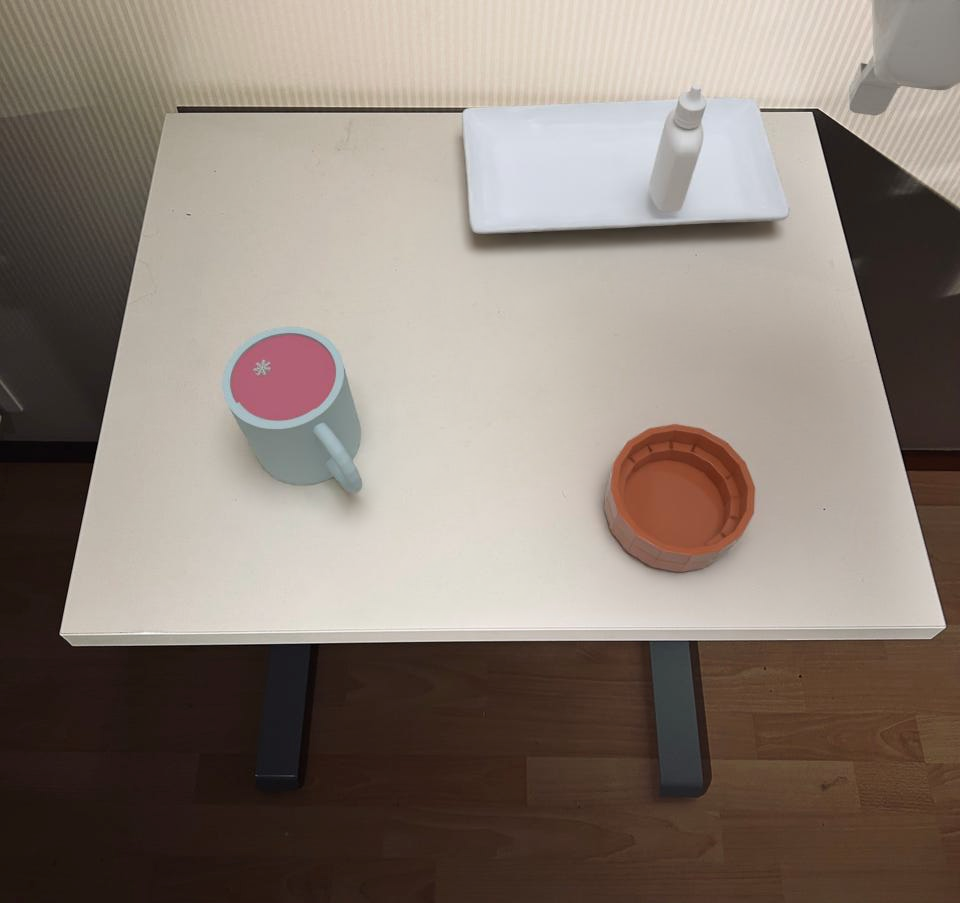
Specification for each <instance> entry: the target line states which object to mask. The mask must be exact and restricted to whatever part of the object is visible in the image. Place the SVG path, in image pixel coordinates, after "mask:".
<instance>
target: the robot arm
mask: <svg viewBox="0 0 960 903" xmlns="http://www.w3.org/2000/svg"><path fill="white" fill-rule="evenodd" d="M871 21H872V24H871V25H872V50H873V55H872V57H871V58H870V59H869V61H868V62H867V63H863V62H861V63H860V64H859V66H858V68H857V70H856V73H855V76H854V78H853V79H852V80H853V81H851V83H850V85H849V102H848V103H849V110H850V111H851V112H852V113H854V114H860V115H868V116H879V115H881V114H883V113H884V112H885V111H886V110H887V109H888V107H889V105H890V103H891V102H892V99H893V98H894V96H895V95H896V93H897V91H898V89H900V88H901V87H906V88H913V89H914V88H915V89H923V90H931V91H947V90H950V89H952V88H954V87H955V86H957V85H959V84H960V0H871Z"/></svg>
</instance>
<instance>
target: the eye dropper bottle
mask: <svg viewBox="0 0 960 903" xmlns="http://www.w3.org/2000/svg"><path fill="white" fill-rule="evenodd" d="M701 90H702V87H701V85H700V84H697V83H695V84H693V85H692V86H691V88H690V90H689V91H686V92H683V93H681V94H680V96H679V97H678V98H677V99H678V103H677V107H676V109H674V110H672V111H671V112H670V113H669V114H668V116H667V118H666V121H665V124H664V128H663V132H662V135H661V139H660V143H659V147H658V151H657V155H656V159H655V163H654V167H653V171H652V174H651V179H650V194H651V198H652V200H653V202H654V204H655V205H656V207H657V208H658V209H659V210H661V211H679V210H681V209H682V207H683V205H684V202H685V199H686V196H687V193H688V189H689V186H690V183H691V180H692V177H693V174H694V170H695V167H696V164H697V161H698V158H699V154H700V151H701V147H702V143H703V126H702V123H701V121H702V118H703V114H704V111H705V108H706V104H707V102H706V99H705V98H706V97H705V96H704V95H702V93H701Z"/></svg>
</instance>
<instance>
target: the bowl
mask: <svg viewBox="0 0 960 903" xmlns="http://www.w3.org/2000/svg"><path fill="white" fill-rule="evenodd" d="M605 486H606V487H605V494H604V500H603V509H604V512H605V517H606V520H607V523H608V526H609V530H610V532H611V533H612V534H613V536H614V537H615V538H616V539H617V541H618V542H619V543H620V544H621V546H622V547H623V549H624V550H625V551H626V552H627V553H628V554H630V555H631V556H633V557H634V558H636V559H638V560H639V561H641V562H643V563H644V564H646V565H647V566H650V567H651V568H656V569H661V570H666V571H670V572H677V573H684V572H689V571H695V570H699V569H705V568H708V567H710V566H711V565H712V564H714V563H715V562H717V561H718V560H719V559H721V558H722V557H724V556H725V555H727V554H728V553H729V552H730V550H731V549H732V548H733V546H735V545H736V543H737V542H738V540H740V538H741V537H742V536H743V534H744V532H745V530H746V528H747V527H748V525H749V523H750V521H751V520H752V518H753V516H754V514H755V502H756V501H755V500H756V498H755V497H756V486H755V483H754V480H753V478H752V476H751V473H750V470H749V467H748V465H747V463H746V461H745V460H744V459H743V458H742V456H740V454H739V453H737V451H736V450H735V449H734V448H733V447H732V446H731V445H730V443H729V442H727V441H726V440H724V439H722V438H720V437H719V436H717V435H715V434H713V433H711V432H709V431H707V430H706V429H703V428H701V427H694V426H689V425H683V424H677V423H673V424H667V425H662V426H655V427H650V428H647V429H645V430H644V431H642V432H641V433H639V434H637V435H636V436H634V437H633V438H631V439H629V440H628V441H627V442H626V443H625V445H623V448H622V449H621V450H620V452H619V454H618V455H617V457H616V458H615V460H614V461H613V464H612V467H611V469H610V473H609V475H608V478H607V481H606V485H605Z"/></svg>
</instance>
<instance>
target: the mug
mask: <svg viewBox="0 0 960 903" xmlns="http://www.w3.org/2000/svg"><path fill="white" fill-rule="evenodd" d="M221 378H222V379H221V389H222V395H223V398H224V400H225V402H226V405H227V407H228V408H229V410H230V412H231V414H232V415H233V418H234V419H235V421H236V423H237V425H238V426H239V428H240V430H241V431H242V433H243V435H244V437H245V439H246V440H247V443H248V445H249V446H250V448H251V450H252V451H253V453H254V455H255V457H256V458H257V460H258V462H259V465H260V466H261V467H262V469H263V470H264V471H265V472H266V473H267V474H269V475H270V476H271V477H273V478H274V479H275V480H278V481H279V482H282V483H285V484H289V485H294V486H311V485H316V484H320V483H323V482H325V481H328V480H330V479H332V478H334V479H335V480H336V481H337V483H338V484H339V485H340V486H341V487H342V488H343V489H344V490H345V491H346V492H347V493H349V494H358V493H359V492H360V491H361V490H362V488H363V480H362V477H361V474H360V472H359V470H358V468H357V466H356V464H355V462H354V461H353V460H354V458H355V457H356V455H357V453H358V451H359V448H360V444H361V439H362V428H361V423H360V420H359V417H358V413H357V409H356V405H355V402H354V401H355V400H354V398H353V394H352V391H351V387H350V383H349V378H348V376H347V372H346V368H345V364H344V361H343V357H342V356H341V353H340V351H339V350H338V348H337V347H336V345H335V344H334V343H333V342H332V341H331V340H330V339H328V337H326V336H325V335H323V334H322V333H319V332H318V331H316V330H313V329H309V328H306V327H301V326H280V327H274V328H270V329H267V330H264V331H262V332H258V333H257V334H255V335H253V336H252V337H250V338H248V339H247V340H246V341H245V342H243V343H242V344H241V345H239V346H238V347H237V348H236V349H235V351H234V352H233V353H232V354H231V356H230V358H228V361H227V362H226V364H225V367H224V370H223V374H222V377H221Z"/></svg>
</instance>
